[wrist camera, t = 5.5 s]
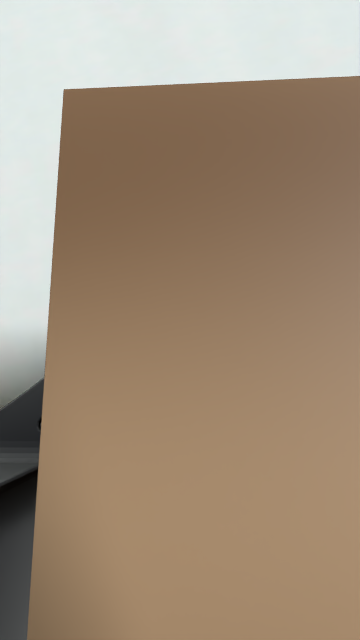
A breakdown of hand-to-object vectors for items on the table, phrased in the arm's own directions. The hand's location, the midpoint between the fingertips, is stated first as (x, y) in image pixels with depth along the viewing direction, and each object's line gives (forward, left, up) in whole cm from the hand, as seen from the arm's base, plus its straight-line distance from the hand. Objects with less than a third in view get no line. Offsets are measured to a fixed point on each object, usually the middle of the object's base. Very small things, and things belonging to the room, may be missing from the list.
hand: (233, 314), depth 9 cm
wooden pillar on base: (-1, 0, -7) cm, 7 cm away
